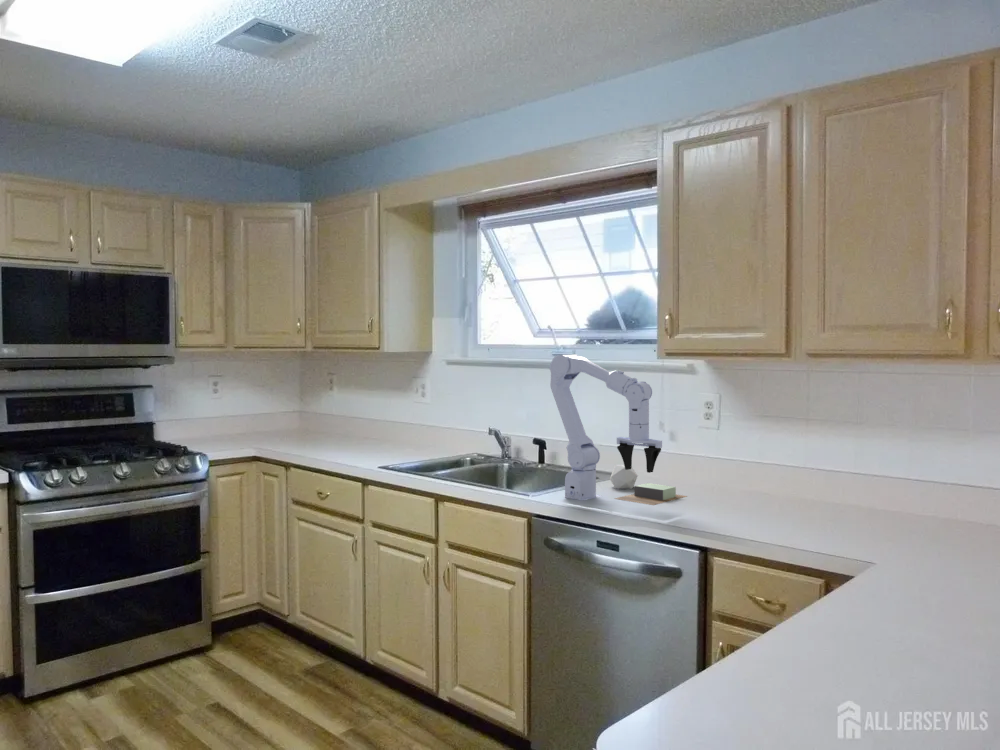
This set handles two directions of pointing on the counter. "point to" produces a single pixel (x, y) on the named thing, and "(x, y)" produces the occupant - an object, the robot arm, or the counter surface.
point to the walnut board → (647, 499)
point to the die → (623, 477)
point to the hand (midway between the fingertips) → (639, 470)
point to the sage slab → (655, 491)
